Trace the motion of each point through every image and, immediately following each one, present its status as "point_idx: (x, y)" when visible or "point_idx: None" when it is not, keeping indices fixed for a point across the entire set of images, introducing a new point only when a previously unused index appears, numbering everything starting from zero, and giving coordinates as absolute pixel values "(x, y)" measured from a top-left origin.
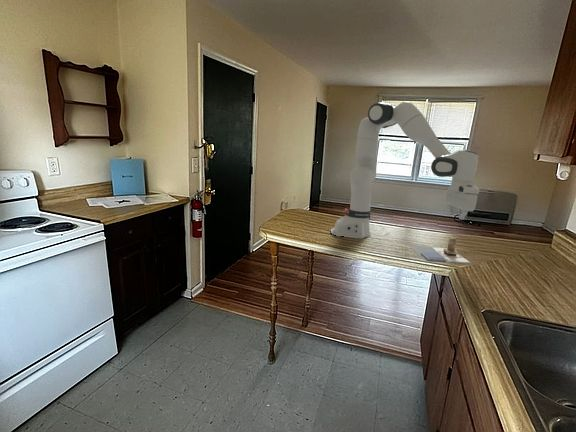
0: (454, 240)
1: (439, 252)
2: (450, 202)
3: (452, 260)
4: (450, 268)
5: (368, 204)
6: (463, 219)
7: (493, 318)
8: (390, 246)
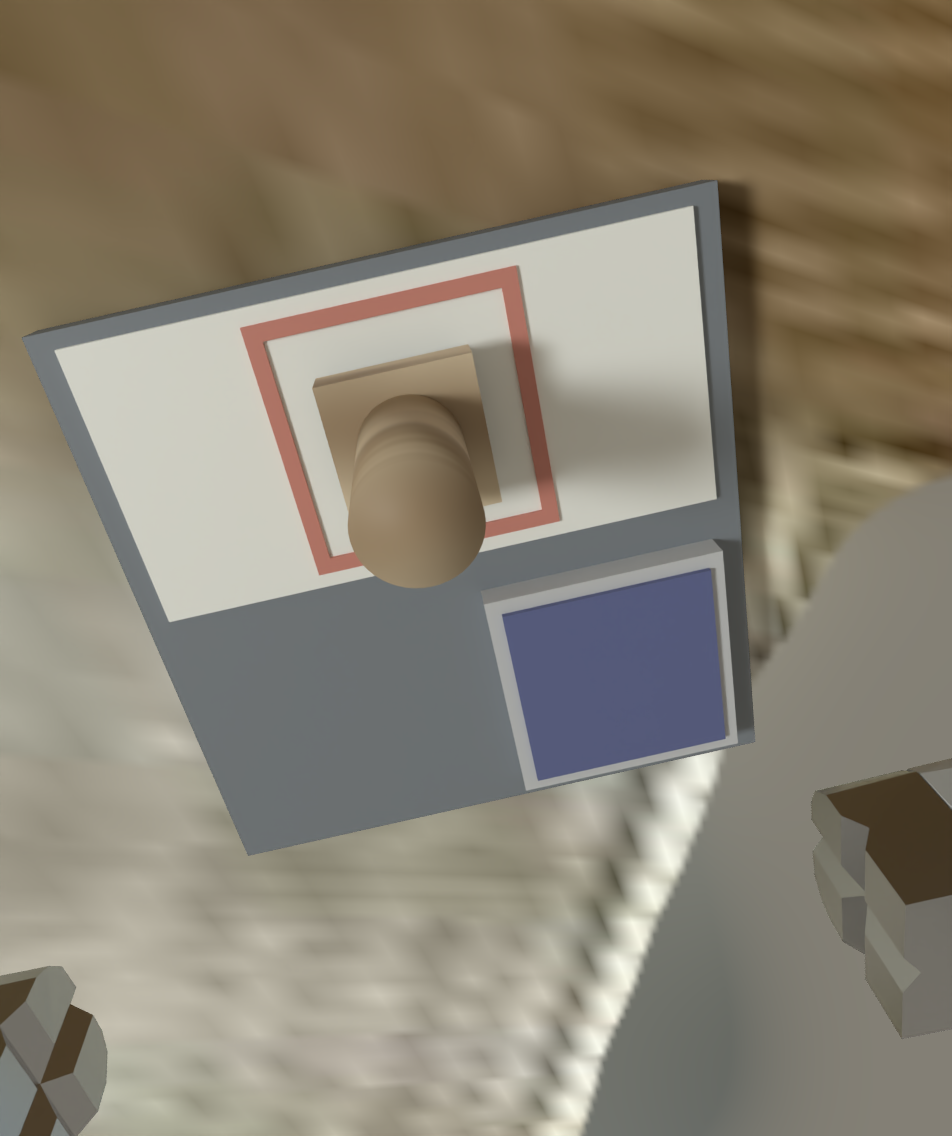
0: (479, 496)
1: None
2: None
3: (675, 452)
4: (824, 492)
5: None
6: (945, 773)
7: None
8: (265, 989)
